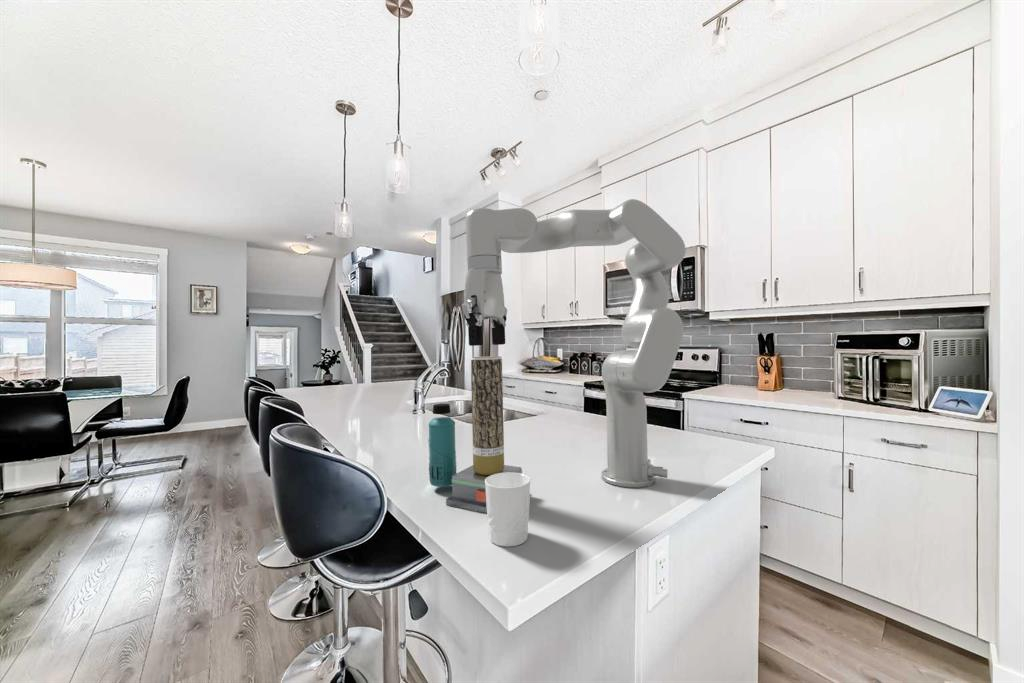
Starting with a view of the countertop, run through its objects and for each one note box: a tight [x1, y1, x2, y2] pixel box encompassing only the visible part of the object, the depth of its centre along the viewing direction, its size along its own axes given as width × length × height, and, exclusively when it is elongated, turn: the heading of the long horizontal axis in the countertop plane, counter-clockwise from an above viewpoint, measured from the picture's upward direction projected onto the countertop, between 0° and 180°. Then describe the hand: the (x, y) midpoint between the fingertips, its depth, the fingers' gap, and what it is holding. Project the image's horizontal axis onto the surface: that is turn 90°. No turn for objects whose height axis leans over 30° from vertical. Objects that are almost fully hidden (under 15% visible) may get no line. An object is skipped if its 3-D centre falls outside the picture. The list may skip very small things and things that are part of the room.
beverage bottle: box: [428, 403, 458, 488], centre depth 92 cm, size 6×7×20 cm
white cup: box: [485, 472, 531, 548], centre depth 67 cm, size 8×8×10 cm
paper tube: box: [470, 355, 505, 475], centre depth 85 cm, size 7×7×25 cm
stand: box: [445, 464, 523, 514], centre depth 85 cm, size 13×13×6 cm
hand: (488, 345), depth 85 cm, fingers open, 9 cm apart
